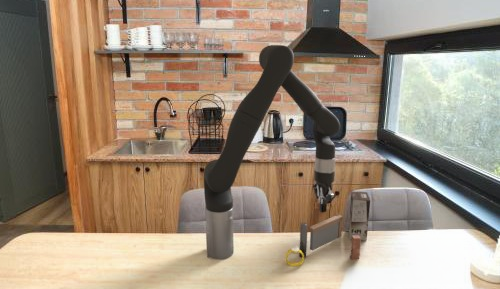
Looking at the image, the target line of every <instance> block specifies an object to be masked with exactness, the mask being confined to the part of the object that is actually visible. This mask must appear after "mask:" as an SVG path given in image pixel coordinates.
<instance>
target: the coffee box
mask: <svg viewBox="0 0 500 289" xmlns="http://www.w3.org/2000/svg"><path fill="white" fill-rule="evenodd" d="M349 199H350V200H349V215H348V227H347V228H348V235H349V239H350V240H352V236H354V235H359V236H360V238H361V241H367V240H368V238H367V237H368V229H369V221H370V220H369V218H370V209H371V208H370V207H371V199H370V197H369V194H368V192H366V191H350V198H349Z"/></svg>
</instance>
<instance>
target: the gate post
mask: <svg viewBox="0 0 500 289" xmlns="http://www.w3.org/2000/svg"><path fill="white" fill-rule="evenodd" d="M308 228H309V227H308V223H307V222H301V223H300V227H299V250H301V251H302V253H303V255H304V259H305V258H307V248H308V244H307V243H308ZM298 254H299V255H298V257H299V258H301V259H302V254H301V253H299V252H298Z"/></svg>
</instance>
